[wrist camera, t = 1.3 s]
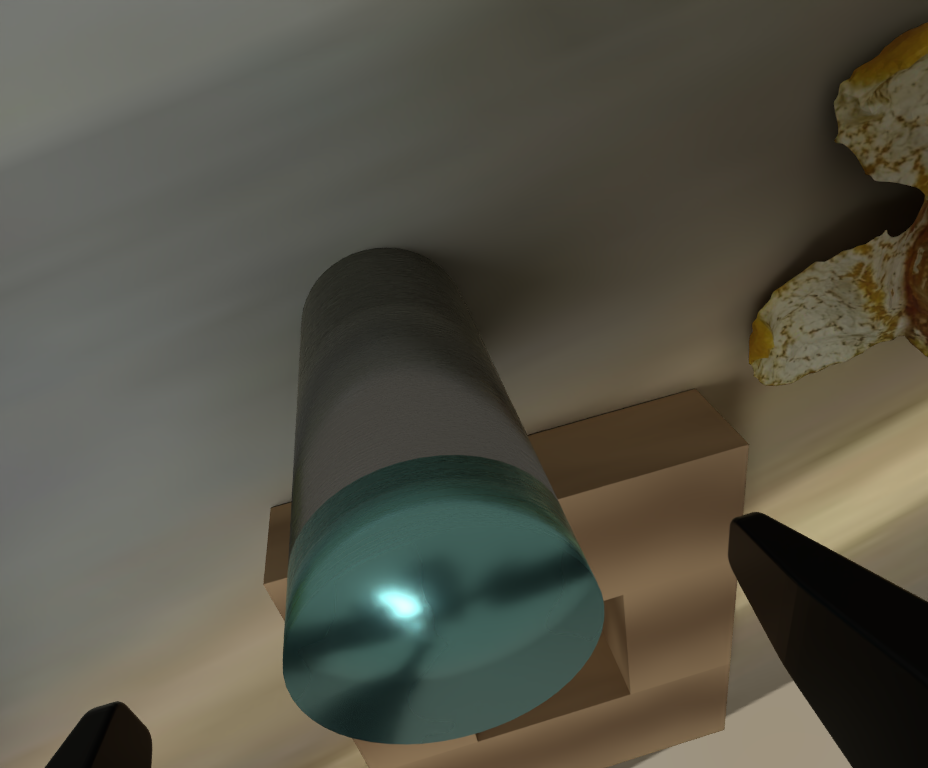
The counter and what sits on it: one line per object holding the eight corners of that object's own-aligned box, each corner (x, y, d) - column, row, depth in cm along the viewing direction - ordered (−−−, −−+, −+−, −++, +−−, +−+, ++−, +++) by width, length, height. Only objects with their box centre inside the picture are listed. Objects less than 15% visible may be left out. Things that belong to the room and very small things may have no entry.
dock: (689, 666, 29) (724, 729, 26) (398, 756, 28) (405, 831, 25) (695, 388, 20) (749, 444, 18) (270, 508, 19) (263, 584, 17)
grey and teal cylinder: (478, 372, 18) (612, 691, 10) (331, 412, 18) (340, 775, 9) (447, 229, 16) (592, 491, 7) (277, 273, 15) (227, 596, 7)
